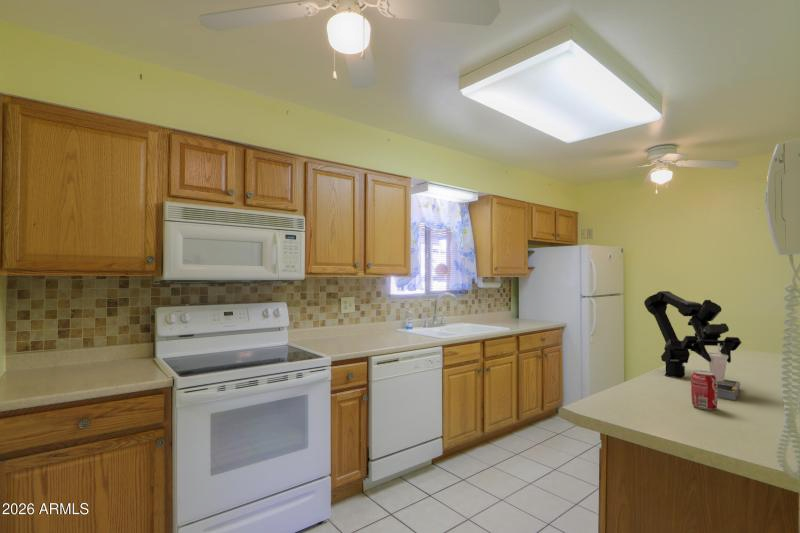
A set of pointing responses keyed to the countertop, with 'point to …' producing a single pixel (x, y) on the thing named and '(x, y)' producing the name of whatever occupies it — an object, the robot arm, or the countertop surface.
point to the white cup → (718, 364)
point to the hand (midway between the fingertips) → (719, 361)
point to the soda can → (704, 390)
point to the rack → (728, 389)
